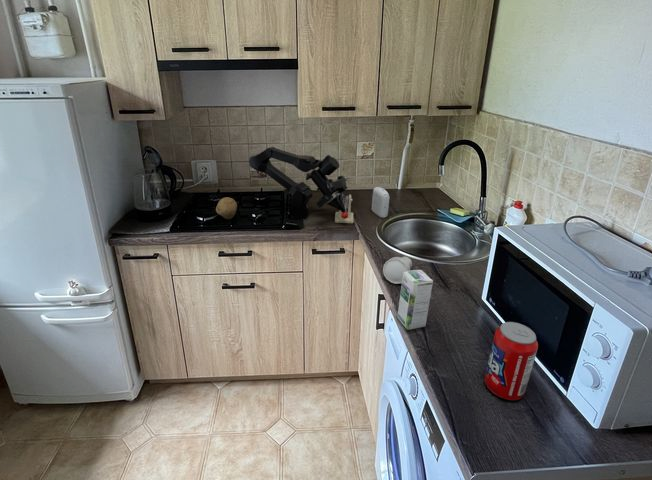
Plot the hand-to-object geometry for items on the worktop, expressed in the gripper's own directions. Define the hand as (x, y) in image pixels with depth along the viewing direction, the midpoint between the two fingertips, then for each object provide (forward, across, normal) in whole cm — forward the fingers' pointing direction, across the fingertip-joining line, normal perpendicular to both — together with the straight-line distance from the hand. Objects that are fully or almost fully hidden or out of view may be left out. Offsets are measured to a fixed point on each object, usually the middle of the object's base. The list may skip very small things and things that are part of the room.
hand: (344, 211), depth 159 cm
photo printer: (+11, +22, -1) cm, 24 cm away
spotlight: (+28, -28, -18) cm, 43 cm away
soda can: (+51, -60, -41) cm, 89 cm away
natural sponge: (-28, -20, +38) cm, 52 cm away
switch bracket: (+2, +8, +7) cm, 11 cm away
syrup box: (+35, -48, -25) cm, 64 cm away
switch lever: (-1, +5, +2) cm, 5 cm away
